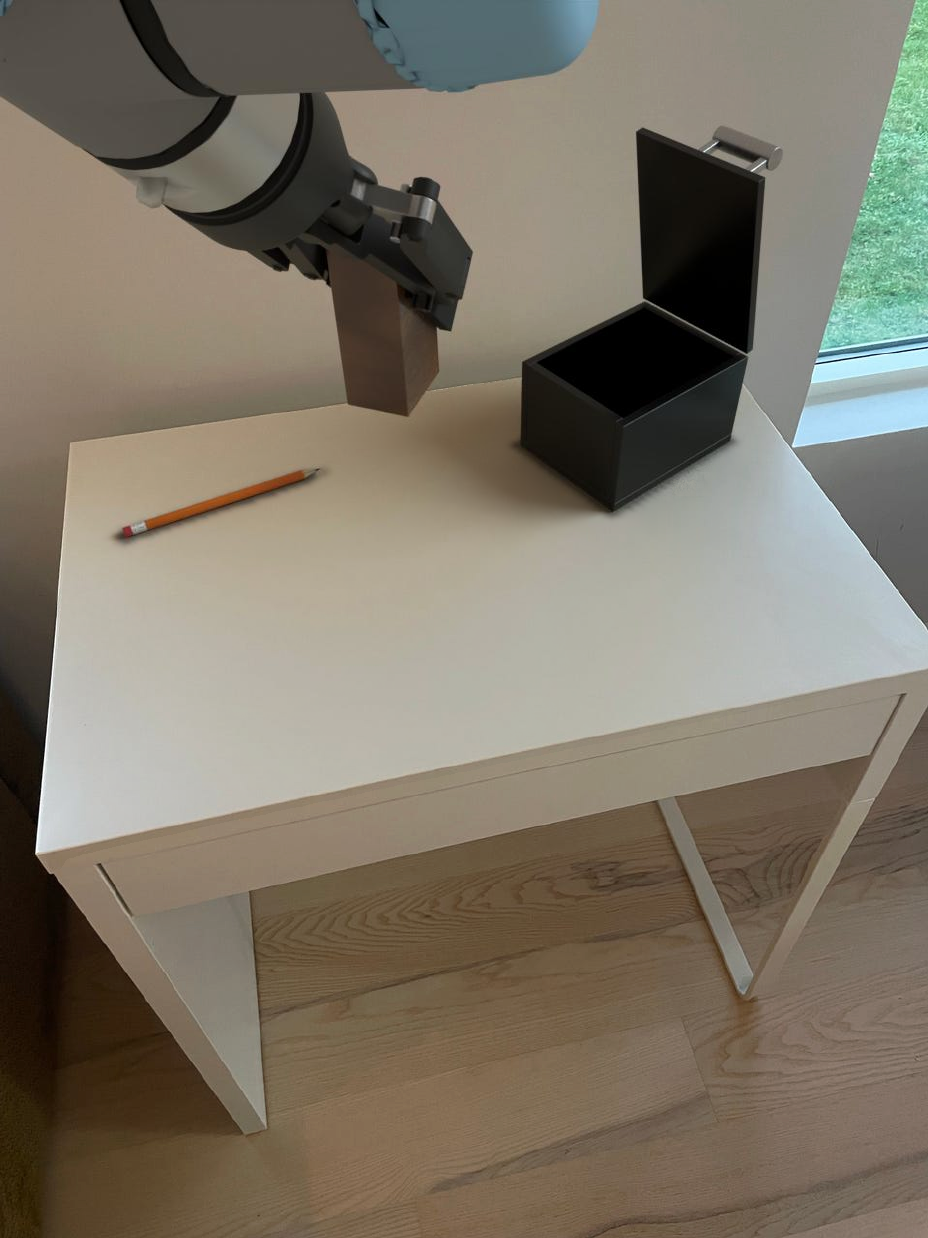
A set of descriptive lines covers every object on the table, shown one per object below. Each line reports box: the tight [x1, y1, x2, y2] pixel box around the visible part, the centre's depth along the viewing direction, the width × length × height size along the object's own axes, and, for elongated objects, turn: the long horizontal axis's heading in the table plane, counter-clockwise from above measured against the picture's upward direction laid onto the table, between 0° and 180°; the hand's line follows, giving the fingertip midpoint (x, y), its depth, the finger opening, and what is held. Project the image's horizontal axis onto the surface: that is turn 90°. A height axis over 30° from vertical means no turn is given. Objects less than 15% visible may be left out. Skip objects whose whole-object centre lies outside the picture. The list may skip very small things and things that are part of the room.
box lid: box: [635, 124, 784, 355], centre depth 84 cm, size 17×13×7 cm
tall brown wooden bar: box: [325, 248, 440, 418], centre depth 55 cm, size 4×5×11 cm
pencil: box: [121, 467, 322, 538], centre depth 89 cm, size 1×19×1 cm, turn 117°
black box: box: [519, 300, 749, 513], centre depth 90 cm, size 16×13×9 cm
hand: (414, 301), depth 59 cm, fingers closed on tall brown wooden bar, 4 cm apart
